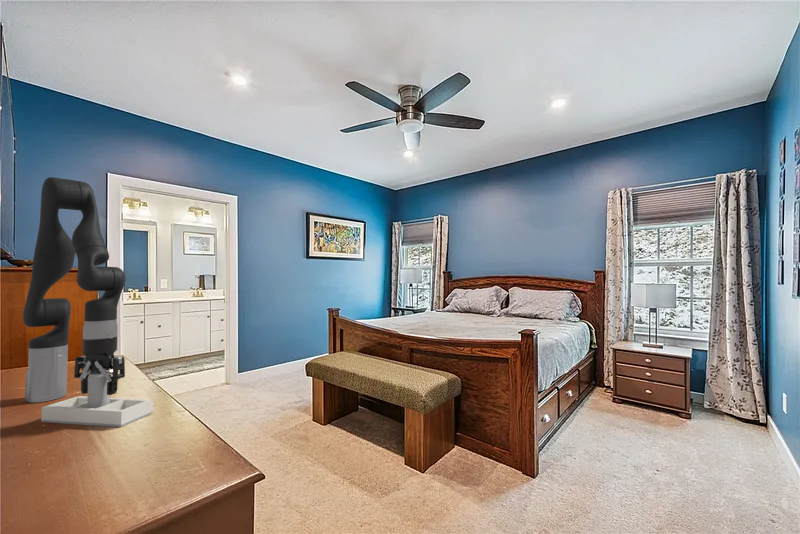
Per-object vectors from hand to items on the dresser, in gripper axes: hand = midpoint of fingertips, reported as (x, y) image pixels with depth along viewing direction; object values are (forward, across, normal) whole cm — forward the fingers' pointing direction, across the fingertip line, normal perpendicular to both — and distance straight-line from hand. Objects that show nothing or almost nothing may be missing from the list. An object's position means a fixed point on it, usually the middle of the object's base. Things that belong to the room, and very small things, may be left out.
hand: (99, 393), depth 97 cm
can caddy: (+7, 0, 0) cm, 7 cm away
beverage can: (+6, 0, 0) cm, 6 cm away
